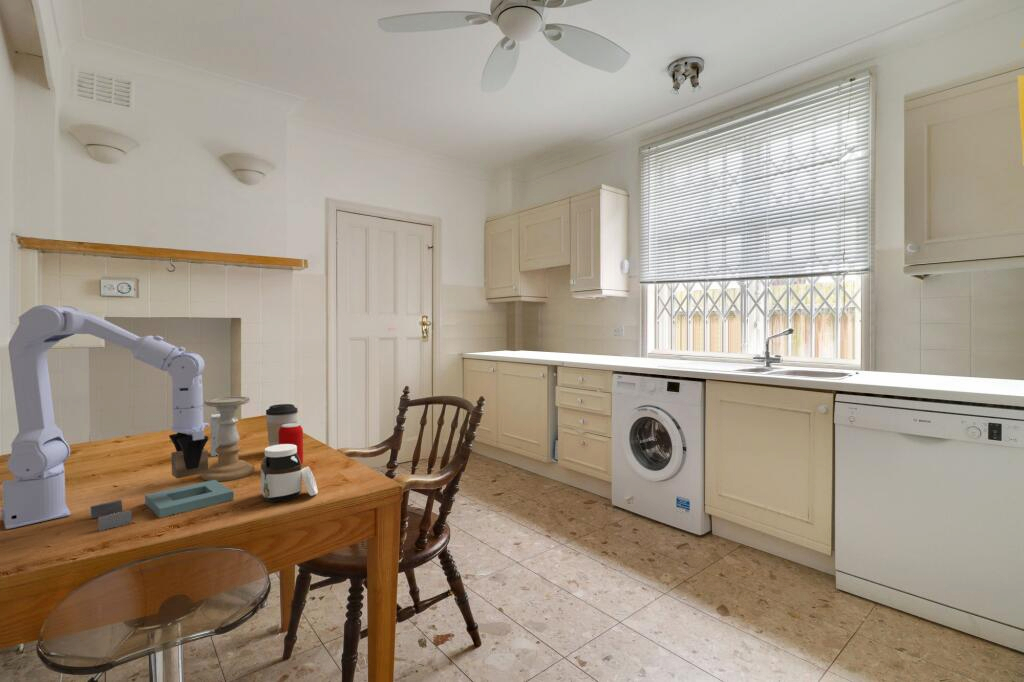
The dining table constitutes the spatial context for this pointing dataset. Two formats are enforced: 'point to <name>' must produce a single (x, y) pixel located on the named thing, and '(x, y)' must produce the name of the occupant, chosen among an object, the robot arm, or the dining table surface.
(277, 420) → the coffee cup
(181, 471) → the walnut block
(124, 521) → the metal stand
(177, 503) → the socket board
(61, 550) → the dining table surface
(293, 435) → the beverage can
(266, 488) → the spread jar
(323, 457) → the dining table surface
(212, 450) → the skincare box
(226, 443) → the candle holder
